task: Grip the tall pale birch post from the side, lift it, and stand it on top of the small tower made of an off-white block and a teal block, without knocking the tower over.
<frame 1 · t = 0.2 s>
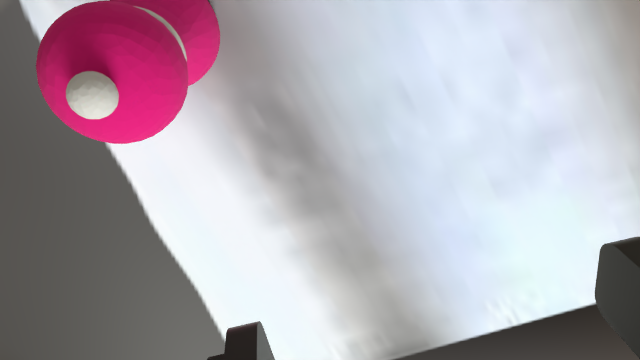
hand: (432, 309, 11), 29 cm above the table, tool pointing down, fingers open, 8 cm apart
pepper mill: (174, 24, 34), on the table
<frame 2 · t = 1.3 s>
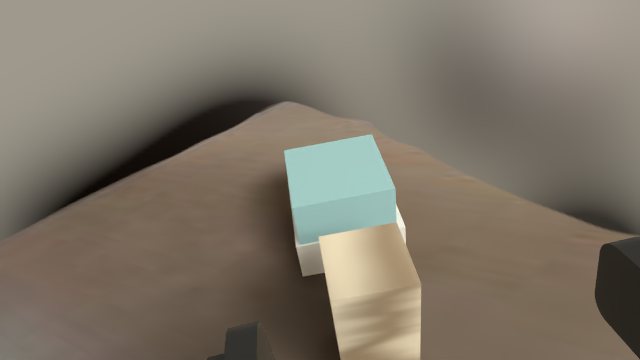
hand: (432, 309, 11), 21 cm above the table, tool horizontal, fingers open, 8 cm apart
tower top: (340, 204, 41), point 4 cm above the table, touching tower base
tower base: (345, 233, 43), on the table, touching tower top
birch post: (375, 353, 33), on the table
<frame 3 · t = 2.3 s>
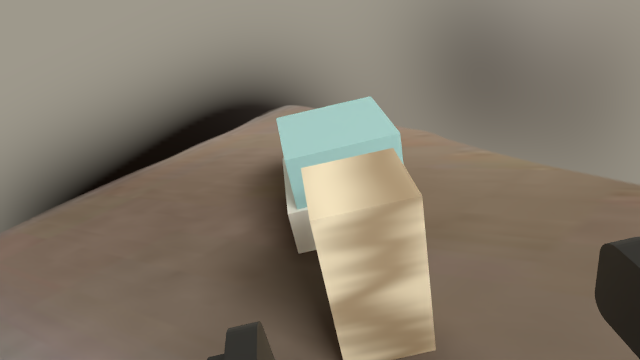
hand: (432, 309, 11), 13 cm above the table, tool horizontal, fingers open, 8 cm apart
tower top: (340, 170, 36), point 4 cm above the table
tower base: (348, 212, 38), on the table
birch post: (380, 325, 27), on the table
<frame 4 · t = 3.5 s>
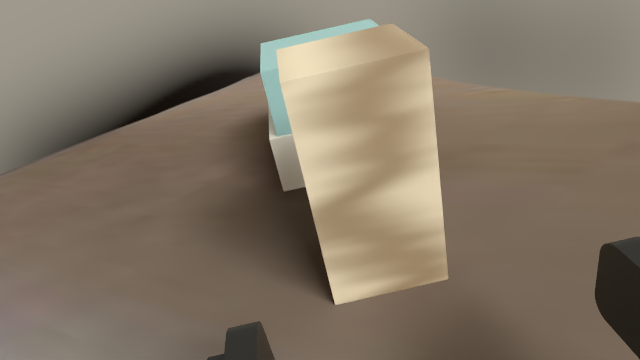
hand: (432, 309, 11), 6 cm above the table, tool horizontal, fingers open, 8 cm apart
tower top: (332, 101, 31), point 4 cm above the table, touching tower base
tower base: (342, 151, 34), on the table, touching tower top
birch post: (378, 256, 22), on the table
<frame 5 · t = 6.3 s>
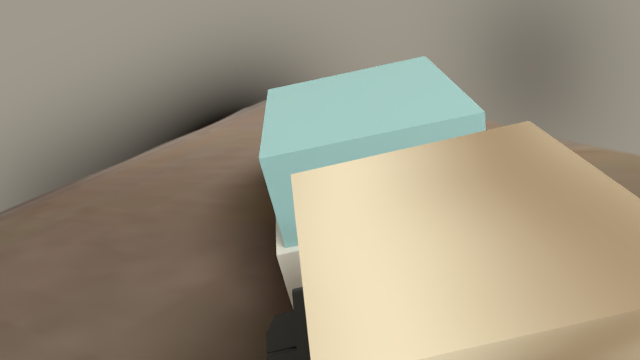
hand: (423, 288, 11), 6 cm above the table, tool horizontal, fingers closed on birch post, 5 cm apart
tower top: (369, 179, 21), point 4 cm above the table, touching tower base
tower base: (379, 243, 24), on the table, touching tower top
when the fingers open (16 cm above the table, at t = 9.7 s): birch post drops 2 cm, resting on tower top.
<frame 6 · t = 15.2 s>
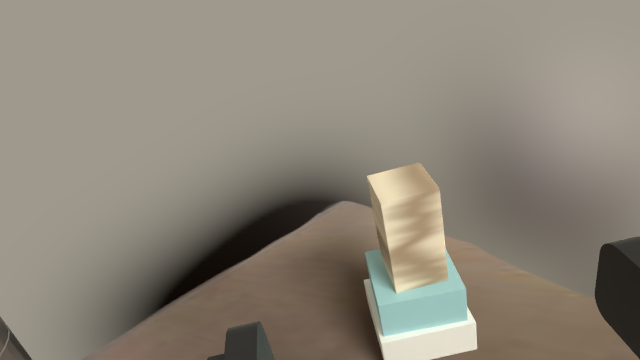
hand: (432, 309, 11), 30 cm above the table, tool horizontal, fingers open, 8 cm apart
tower top: (415, 298, 47), point 4 cm above the table, touching birch post
tower base: (418, 327, 49), on the table
birch post: (413, 269, 45), point 8 cm above the table, touching tower top
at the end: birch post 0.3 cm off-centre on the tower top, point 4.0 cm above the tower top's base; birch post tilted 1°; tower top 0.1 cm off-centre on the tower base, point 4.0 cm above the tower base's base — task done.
